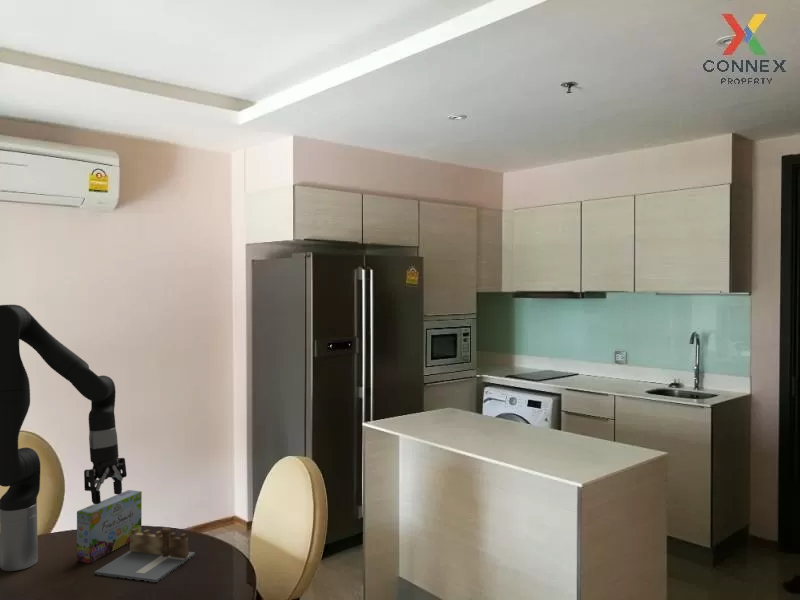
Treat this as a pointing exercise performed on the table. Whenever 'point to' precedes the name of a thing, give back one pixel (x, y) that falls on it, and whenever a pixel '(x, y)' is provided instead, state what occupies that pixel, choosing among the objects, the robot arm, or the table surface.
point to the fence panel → (146, 542)
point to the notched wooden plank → (174, 544)
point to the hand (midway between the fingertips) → (107, 498)
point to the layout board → (142, 566)
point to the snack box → (107, 525)
